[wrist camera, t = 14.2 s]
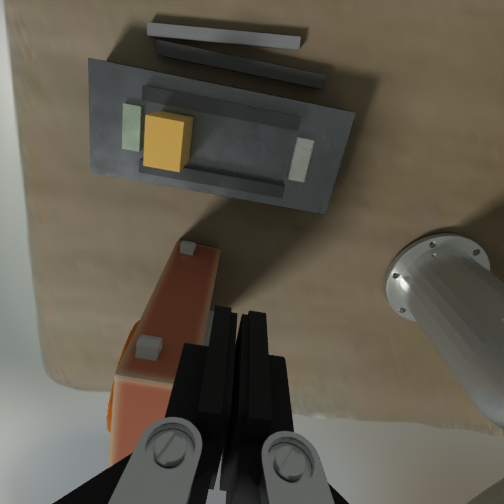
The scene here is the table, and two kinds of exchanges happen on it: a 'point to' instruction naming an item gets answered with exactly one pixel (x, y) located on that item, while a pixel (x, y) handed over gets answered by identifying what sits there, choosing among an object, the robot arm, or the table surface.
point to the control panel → (161, 344)
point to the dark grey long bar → (239, 64)
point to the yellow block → (167, 140)
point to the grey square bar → (223, 36)
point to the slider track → (218, 137)
